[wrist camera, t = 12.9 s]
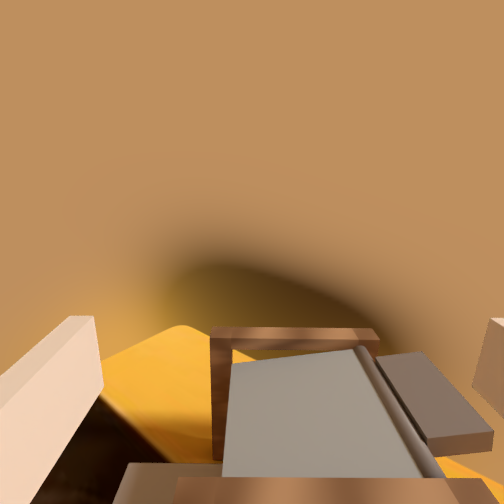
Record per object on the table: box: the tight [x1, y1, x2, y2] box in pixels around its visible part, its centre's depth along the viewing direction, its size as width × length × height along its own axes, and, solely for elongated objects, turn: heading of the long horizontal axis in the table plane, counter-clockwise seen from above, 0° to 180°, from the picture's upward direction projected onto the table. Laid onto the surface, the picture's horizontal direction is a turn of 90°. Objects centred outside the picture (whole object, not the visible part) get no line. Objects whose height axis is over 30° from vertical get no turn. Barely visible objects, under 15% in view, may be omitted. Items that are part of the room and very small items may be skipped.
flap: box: [222, 345, 494, 478], centre depth 23 cm, size 17×12×2 cm
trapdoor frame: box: [172, 327, 499, 504], centre depth 24 cm, size 16×17×15 cm
